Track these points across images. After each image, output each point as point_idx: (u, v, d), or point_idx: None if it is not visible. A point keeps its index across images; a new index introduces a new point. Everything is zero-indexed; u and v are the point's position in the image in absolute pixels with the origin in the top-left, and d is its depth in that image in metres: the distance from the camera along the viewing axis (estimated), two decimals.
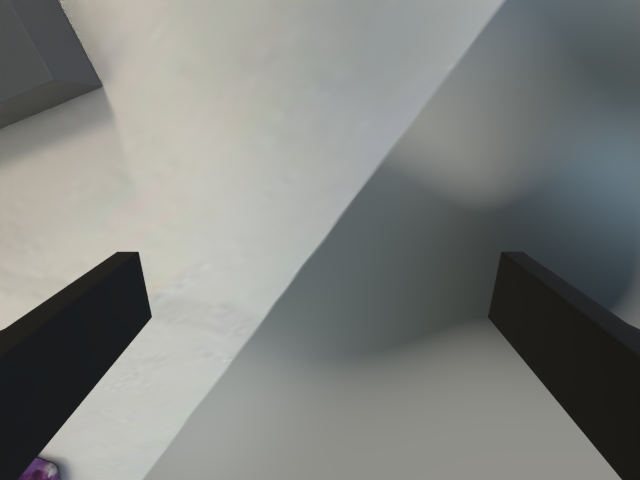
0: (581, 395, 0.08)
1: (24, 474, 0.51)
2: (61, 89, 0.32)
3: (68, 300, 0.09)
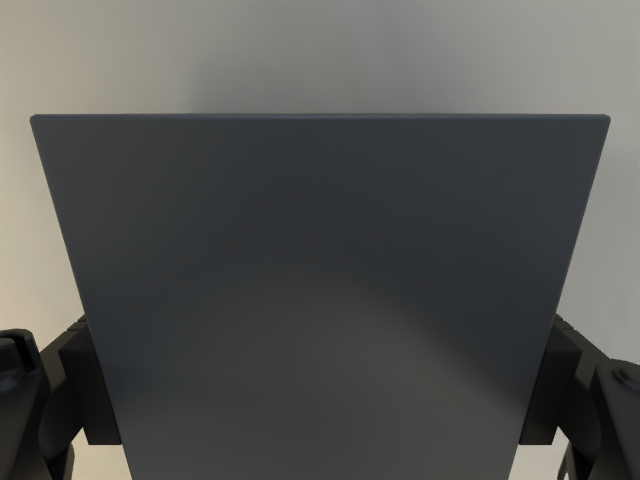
0: None
1: None
2: None
3: None
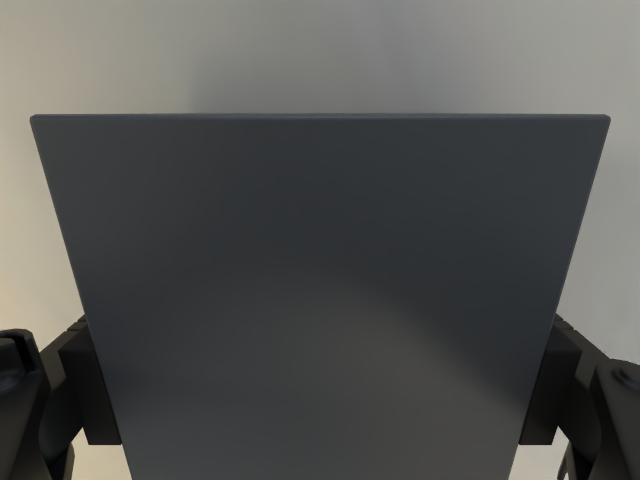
0: None
1: None
2: None
3: None
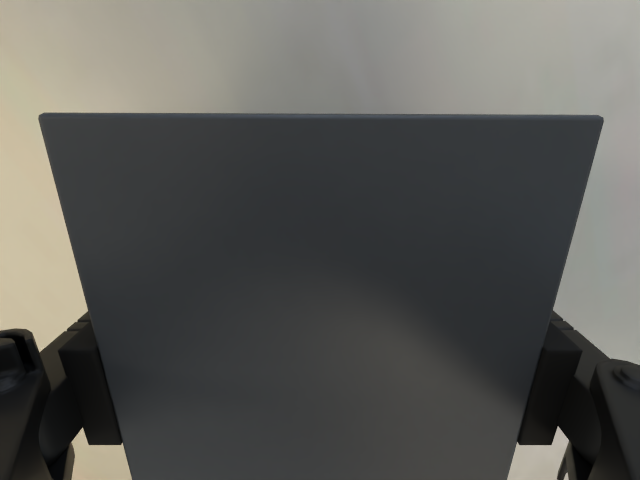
0: None
1: None
2: None
3: None
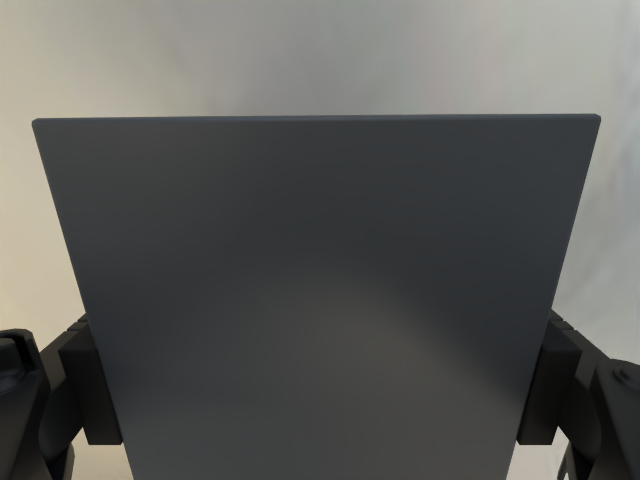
0: None
1: None
2: None
3: None
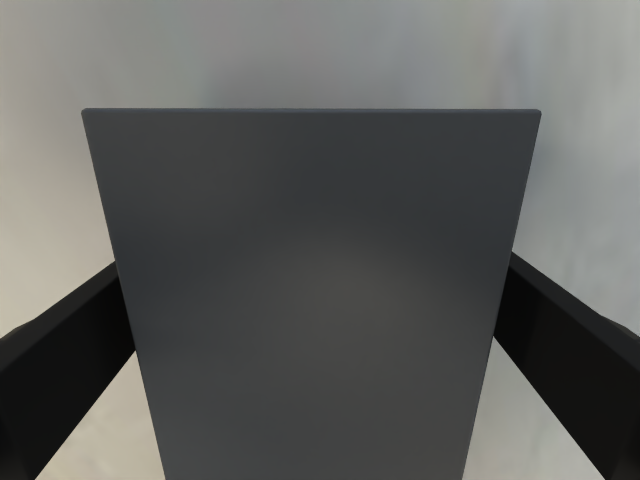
0: (559, 386, 0.09)
1: None
2: None
3: (89, 294, 0.09)
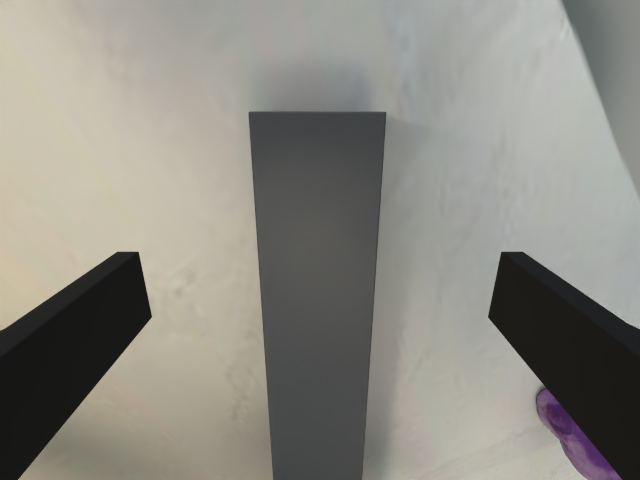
0: (581, 395, 0.08)
1: None
2: None
3: (68, 300, 0.09)
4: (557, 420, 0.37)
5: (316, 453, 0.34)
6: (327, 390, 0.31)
